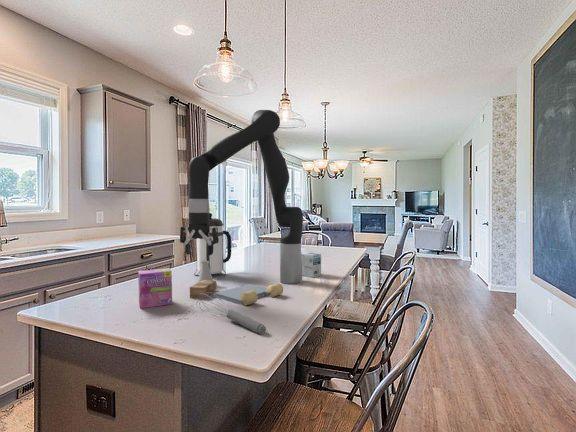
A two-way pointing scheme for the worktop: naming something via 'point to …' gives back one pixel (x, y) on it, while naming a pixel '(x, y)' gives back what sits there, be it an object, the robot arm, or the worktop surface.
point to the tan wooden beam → (203, 288)
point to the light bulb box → (311, 264)
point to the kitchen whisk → (239, 318)
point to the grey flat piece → (249, 293)
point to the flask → (205, 272)
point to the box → (155, 287)
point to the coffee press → (217, 256)
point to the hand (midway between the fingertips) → (199, 254)
